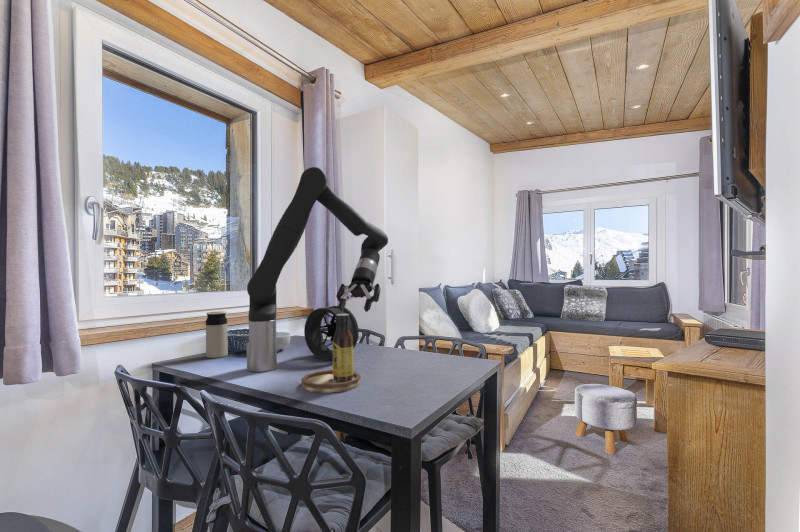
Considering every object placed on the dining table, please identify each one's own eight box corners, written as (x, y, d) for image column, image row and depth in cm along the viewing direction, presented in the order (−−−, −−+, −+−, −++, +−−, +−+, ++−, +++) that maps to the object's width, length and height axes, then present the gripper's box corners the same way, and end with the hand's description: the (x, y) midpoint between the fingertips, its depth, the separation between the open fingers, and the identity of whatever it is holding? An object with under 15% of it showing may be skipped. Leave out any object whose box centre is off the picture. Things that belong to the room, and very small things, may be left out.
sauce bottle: (333, 377, 124) (332, 313, 124) (354, 376, 125) (353, 312, 125) (332, 383, 118) (330, 315, 118) (353, 382, 118) (352, 315, 118)
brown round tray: (294, 392, 114) (294, 385, 114) (312, 376, 131) (312, 369, 131) (353, 393, 112) (353, 385, 112) (364, 376, 129) (363, 369, 129)
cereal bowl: (284, 354, 165) (284, 337, 165) (243, 355, 165) (243, 338, 165) (295, 346, 182) (294, 330, 182) (258, 347, 182) (258, 331, 182)
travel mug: (225, 357, 160) (224, 312, 161) (203, 359, 159) (203, 313, 159) (229, 353, 168) (229, 310, 168) (209, 354, 167) (208, 311, 167)
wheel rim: (359, 357, 157) (358, 306, 157) (344, 362, 149) (343, 308, 149) (320, 352, 167) (319, 304, 167) (304, 357, 159) (303, 306, 159)
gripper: (342, 266, 140) (329, 302, 129) (381, 265, 136) (371, 302, 125) (349, 281, 145) (336, 316, 134) (386, 280, 141) (376, 317, 130)
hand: (353, 309), depth 130 cm, fingers open, 8 cm apart
